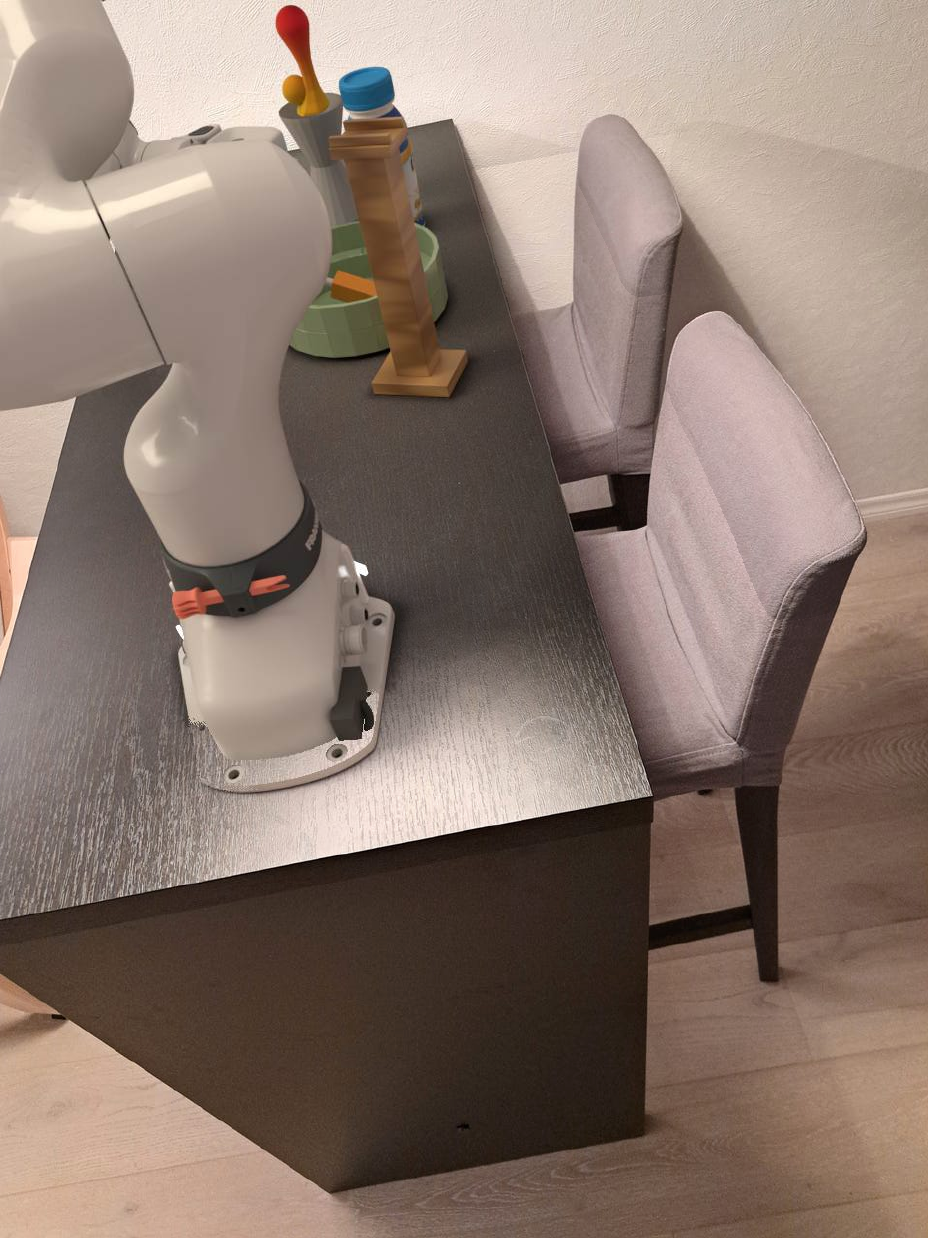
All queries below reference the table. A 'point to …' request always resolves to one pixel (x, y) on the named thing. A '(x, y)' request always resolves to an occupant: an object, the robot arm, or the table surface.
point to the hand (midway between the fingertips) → (288, 177)
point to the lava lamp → (314, 118)
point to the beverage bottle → (373, 99)
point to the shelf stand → (395, 260)
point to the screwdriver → (350, 287)
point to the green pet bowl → (360, 322)
